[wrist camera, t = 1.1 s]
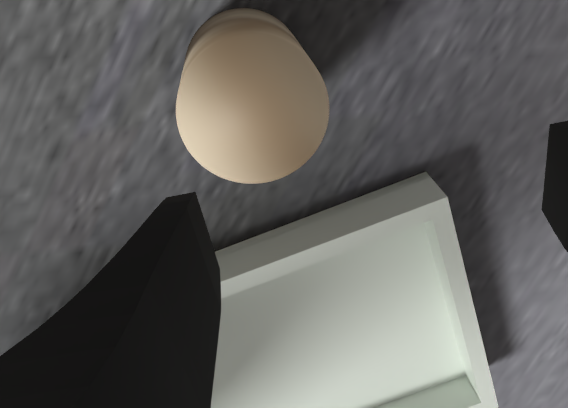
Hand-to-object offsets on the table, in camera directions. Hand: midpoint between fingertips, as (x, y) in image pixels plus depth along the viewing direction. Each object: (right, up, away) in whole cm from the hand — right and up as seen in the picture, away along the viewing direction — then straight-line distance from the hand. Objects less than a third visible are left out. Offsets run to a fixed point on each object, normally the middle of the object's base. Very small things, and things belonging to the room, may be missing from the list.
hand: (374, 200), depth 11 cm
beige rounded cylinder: (-3, +5, +10) cm, 12 cm away
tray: (-1, -7, +17) cm, 18 cm away
